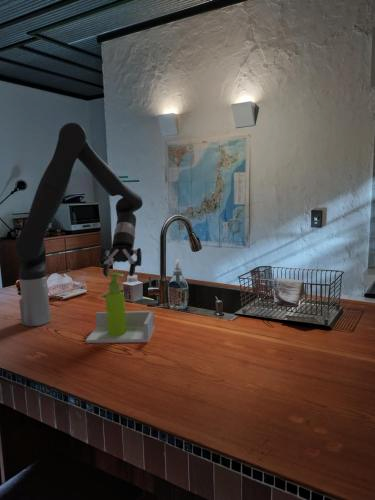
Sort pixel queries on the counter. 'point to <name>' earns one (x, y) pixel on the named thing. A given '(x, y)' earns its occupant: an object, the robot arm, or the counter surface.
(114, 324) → the soap dispenser
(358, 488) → the counter surface
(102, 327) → the grey corner tray
